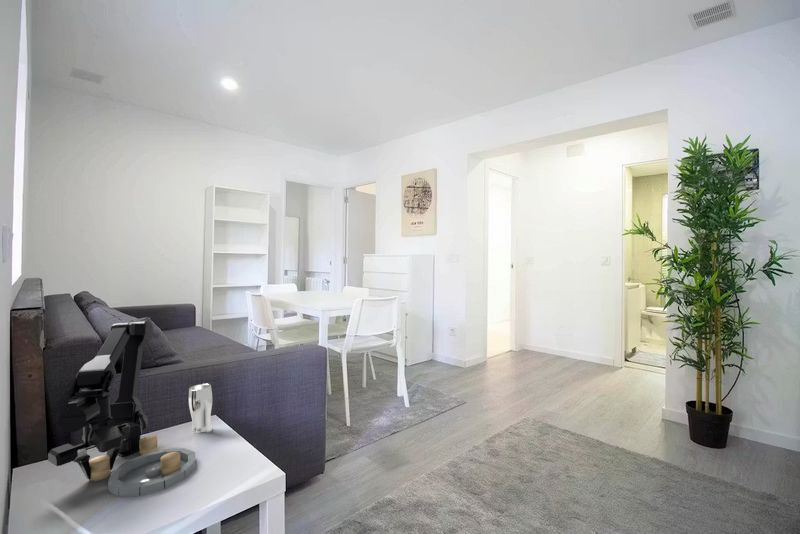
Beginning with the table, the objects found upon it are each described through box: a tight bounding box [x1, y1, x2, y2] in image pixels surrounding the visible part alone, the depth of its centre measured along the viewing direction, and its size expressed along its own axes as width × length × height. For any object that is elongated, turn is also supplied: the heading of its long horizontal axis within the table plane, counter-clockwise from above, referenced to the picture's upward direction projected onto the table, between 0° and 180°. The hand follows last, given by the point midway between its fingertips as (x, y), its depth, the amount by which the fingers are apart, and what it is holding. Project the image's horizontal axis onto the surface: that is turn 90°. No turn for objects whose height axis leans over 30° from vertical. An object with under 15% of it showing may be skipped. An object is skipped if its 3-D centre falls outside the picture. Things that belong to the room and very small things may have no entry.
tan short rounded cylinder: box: [161, 452, 181, 478], centre depth 100 cm, size 4×4×5 cm
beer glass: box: [188, 383, 213, 434], centre depth 127 cm, size 7×7×15 cm
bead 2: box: [139, 435, 159, 456], centre depth 112 cm, size 4×4×5 cm
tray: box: [107, 447, 197, 497], centre depth 101 cm, size 19×19×3 cm
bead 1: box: [88, 454, 111, 482], centre depth 100 cm, size 4×4×5 cm
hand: (99, 474), depth 100 cm, fingers closed on bead 1, 4 cm apart
